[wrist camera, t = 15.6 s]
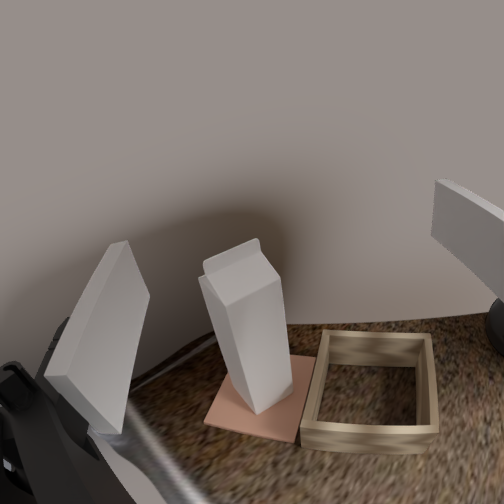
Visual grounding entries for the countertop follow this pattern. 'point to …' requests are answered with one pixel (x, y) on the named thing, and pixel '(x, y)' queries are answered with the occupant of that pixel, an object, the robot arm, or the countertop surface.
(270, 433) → the mat
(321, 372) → the holder
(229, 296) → the milk
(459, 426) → the countertop surface
